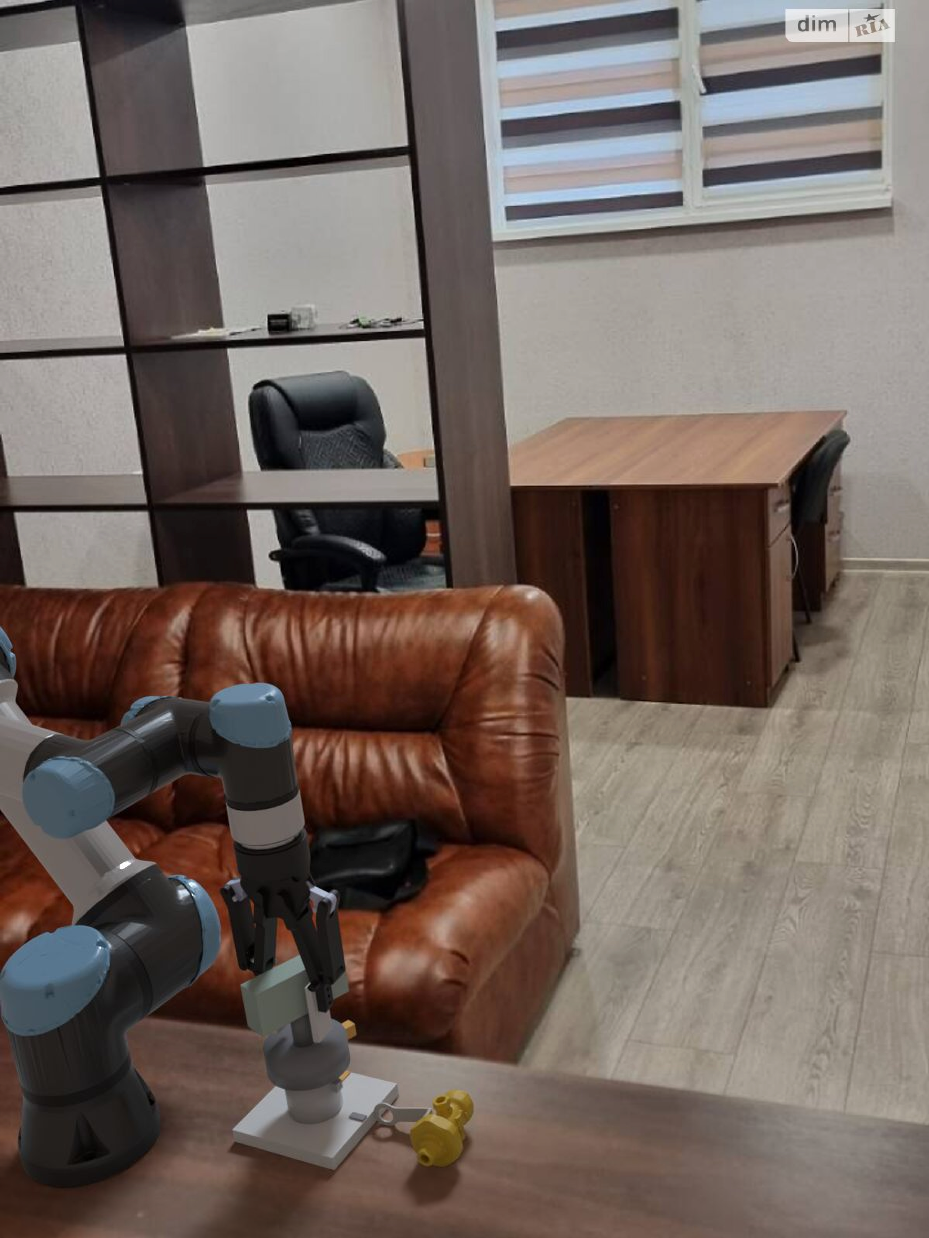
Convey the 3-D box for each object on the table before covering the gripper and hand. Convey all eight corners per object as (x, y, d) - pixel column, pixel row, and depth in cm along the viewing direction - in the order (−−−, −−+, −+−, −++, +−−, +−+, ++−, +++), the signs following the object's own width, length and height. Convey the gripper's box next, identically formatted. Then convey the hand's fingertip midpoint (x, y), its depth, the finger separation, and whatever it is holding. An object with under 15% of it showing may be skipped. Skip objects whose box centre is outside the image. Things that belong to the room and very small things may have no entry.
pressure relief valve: (490, 1119, 145) (454, 1183, 136) (393, 1118, 150) (352, 1179, 141) (476, 1074, 143) (439, 1136, 135) (379, 1075, 149) (337, 1134, 140)
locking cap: (289, 1106, 140) (271, 1005, 137) (243, 1071, 147) (225, 974, 143) (378, 1054, 147) (363, 957, 144) (331, 1023, 154) (315, 929, 150)
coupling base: (234, 1141, 147) (224, 1089, 145) (303, 1071, 157) (294, 1022, 155) (334, 1170, 140) (325, 1116, 138) (398, 1094, 151) (391, 1044, 149)
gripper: (361, 825, 138) (390, 1024, 145) (219, 810, 146) (253, 999, 153) (324, 859, 132) (355, 1065, 139) (177, 841, 139) (214, 1037, 146)
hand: (302, 1030), depth 146 cm, fingers closed on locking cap, 4 cm apart
